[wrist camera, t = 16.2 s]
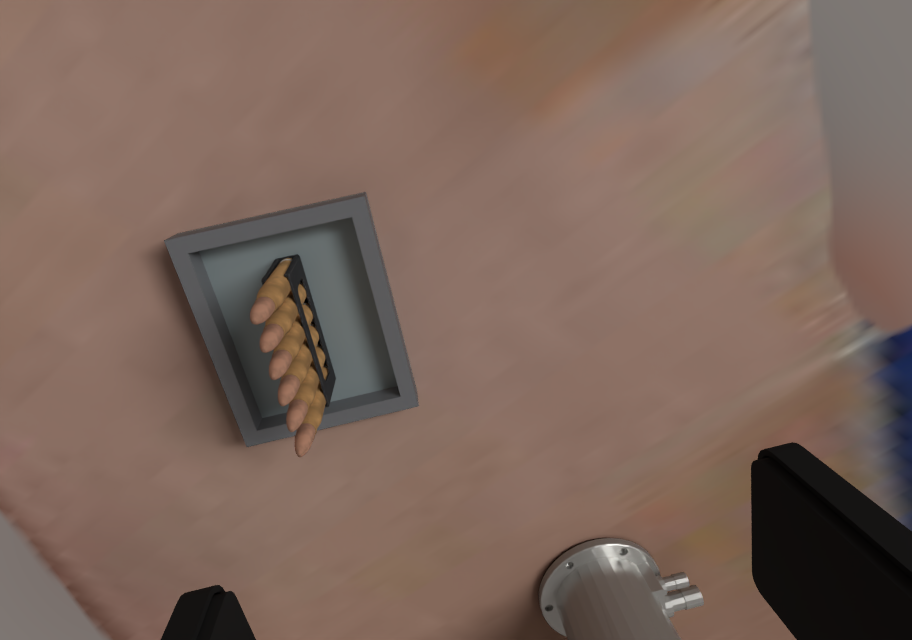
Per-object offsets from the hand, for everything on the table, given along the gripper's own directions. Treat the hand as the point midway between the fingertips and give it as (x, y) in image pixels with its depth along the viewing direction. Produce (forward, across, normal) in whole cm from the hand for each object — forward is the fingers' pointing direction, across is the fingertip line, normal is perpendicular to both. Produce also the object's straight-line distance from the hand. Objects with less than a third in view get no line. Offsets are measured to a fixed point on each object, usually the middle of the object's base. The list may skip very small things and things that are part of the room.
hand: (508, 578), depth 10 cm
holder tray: (+34, +10, +5) cm, 36 cm away
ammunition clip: (+34, +10, +5) cm, 36 cm away
